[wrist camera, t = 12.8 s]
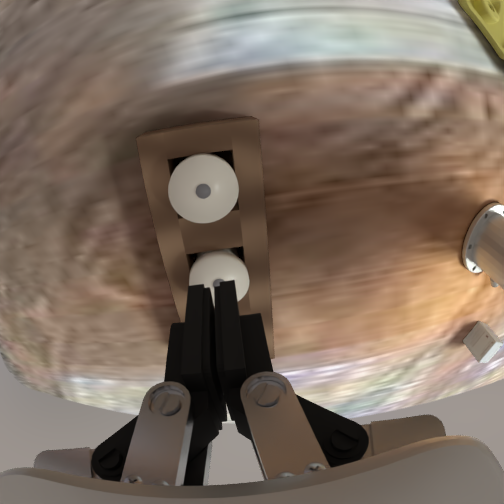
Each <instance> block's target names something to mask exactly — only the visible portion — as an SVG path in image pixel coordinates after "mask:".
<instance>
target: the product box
mask: <svg viewBox="0 0 504 504" xmlns="http://www.w3.org/2000/svg"><path fill="white" fill-rule="evenodd" d="M463 342H464V344H465V345H466V346H467V348H468V349H469V350H470V352H471V353H472V354H473V356H474V357H475V358H476V360H477V361H478V362H479V363H487V362H488V361H489V360H490V359H491V358H492V357H493V356H494V355H495V354H496V352H497V351H498V350H499V349H500V347H501V346H502V345H503V342H502V341H501V340H500V339H499V337H498V336H497V335H496V334H495V333H494V331H493V330H492V329H491V328H490V327H489V325H488V324H485V323H483V322H480V321H478V322H477V324H476V325H475V326H474V327H473V329H472V330H471V331H470V332H469V334H468V335H467V336H466V337H465V338H464V340H463Z"/></svg>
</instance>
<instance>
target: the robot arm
mask: <svg viewBox="0 0 504 504" xmlns="http://www.w3.org/2000/svg"><path fill="white" fill-rule="evenodd" d="M462 258H463V263H464V265H465V267H466V268H467V269H468V270H469V271H470V272H473V273H479V272H482V271H484V272H485V273H486V274H487V275H488V276H489V277H490V282H491V286H492V287H497V286H500V287H501V288H502V289H503V290H504V206H503V205H502V204H500V203H491V204H489V205H487V206H486V207H484V208H483V209H482V210H481V211H480V212H479V213H478V215H477V216H476V217H475V219H474V220H473V222H472V224H471V225H470V227H469V229H468V232H467V234H466V237H465V240H464V244H463V250H462ZM214 304H215V309H214ZM214 304H213V299H212V294H211V289H210V287H207V288H205V287H204V284H199V285H191V286H188V293H187V303H186V313H185V322H181V323H172V325H171V329H170V337H169V345H168V353H167V361H166V370H165V380H164V382H162V383H159V384H156V385H155V386H153V387H151V388H150V389H149V391H148V392H147V393H146V395H145V397H144V399H143V402H142V406H141V409H140V412H139V415H138V416H136V417H135V418H134V419H133V420H131V421H130V422H129V423H128V424H126V425H125V426H124V427H122V428H121V429H120V430H118V431H117V432H116V433H115V434H113V435H112V436H111V437H109V438H108V439H107V440H105V441H104V442H103V443H101V444H100V445H99V446H98V447H97V448H96V449H90V448H89V447H85V448H75V449H62V450H46V451H42V452H41V453H40V454H38V455H37V457H36V459H35V462H34V468H29V467H28V468H27V467H24V468H14V469H10V470H7V471H4V472H1V473H0V504H504V471H503V469H502V467H501V465H500V464H499V462H498V460H497V459H496V457H495V456H494V454H493V453H492V451H491V450H490V449H489V448H488V447H487V446H486V445H485V444H484V443H483V442H482V441H480V440H479V439H477V438H474V437H470V436H461V435H456V436H446V433H445V429H444V426H443V423H442V421H440V420H439V419H438V418H437V417H435V416H433V415H419V416H413V417H406V418H400V419H391V420H383V421H373V422H371V423H370V424H366V425H359V424H358V423H356V422H354V421H352V420H349V419H347V418H345V417H342V416H340V415H338V414H336V413H334V412H331V411H329V410H327V409H325V408H323V407H321V406H319V405H317V404H314V403H312V402H310V401H308V400H306V399H304V398H302V397H300V396H298V395H296V394H295V392H294V390H293V388H292V386H291V384H290V382H289V381H288V380H287V378H285V377H284V376H282V375H281V374H278V373H275V372H273V368H272V364H271V359H270V354H269V350H268V345H267V340H266V335H265V331H264V326H263V321H262V316H261V313H256V314H249V315H241V316H240V313H239V307H238V300H237V293H236V286H235V280H230V281H222V282H220V286H215V287H214ZM226 404H227V407H228V410H229V413H230V417H231V420H232V421H234V420H235V423H236V426H237V430H238V432H239V433H240V434H242V435H243V436H245V437H246V438H248V439H250V440H251V443H252V446H253V449H254V452H255V455H256V458H257V461H258V464H259V467H260V470H261V473H262V476H263V478H264V481H258V482H249V483H239V484H227V485H209V486H207V484H208V477H209V468H210V460H211V452H212V440H213V439H214V438H215V437H216V436H217V435H218V434H219V430H222V422H225V421H227V410H226Z"/></svg>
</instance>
